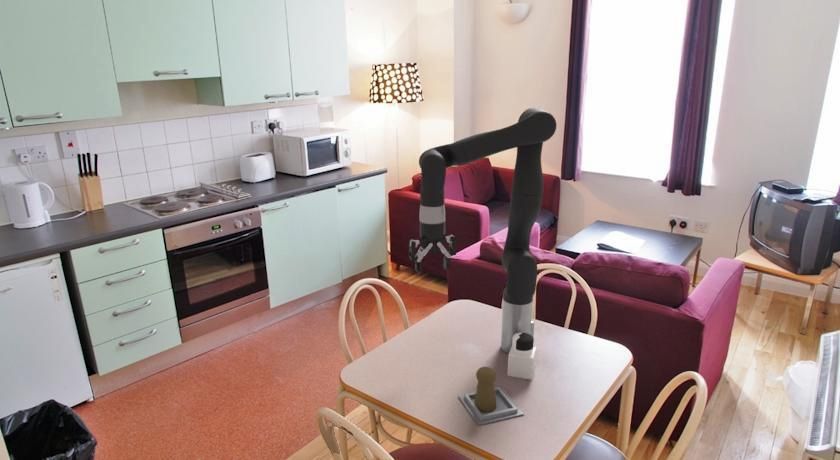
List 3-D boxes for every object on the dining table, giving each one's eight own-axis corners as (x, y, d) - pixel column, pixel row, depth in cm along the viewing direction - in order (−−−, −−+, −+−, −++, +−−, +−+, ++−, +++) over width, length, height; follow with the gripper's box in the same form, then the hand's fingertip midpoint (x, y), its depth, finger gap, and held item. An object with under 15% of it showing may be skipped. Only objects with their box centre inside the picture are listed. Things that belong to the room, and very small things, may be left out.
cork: (495, 413, 145) (497, 377, 141) (472, 411, 146) (473, 374, 142) (497, 400, 150) (498, 364, 147) (475, 397, 151) (475, 362, 148)
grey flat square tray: (501, 388, 156) (501, 383, 156) (523, 415, 145) (523, 410, 144) (458, 397, 152) (458, 392, 152) (478, 425, 141) (478, 421, 140)
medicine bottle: (535, 367, 166) (537, 332, 163) (531, 380, 160) (533, 343, 156) (511, 363, 169) (513, 328, 165) (507, 376, 162) (508, 339, 158)
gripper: (413, 225, 156) (414, 278, 161) (459, 220, 160) (459, 271, 165) (405, 218, 163) (406, 269, 168) (450, 213, 167) (450, 263, 172)
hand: (432, 270), depth 166 cm, fingers open, 8 cm apart
